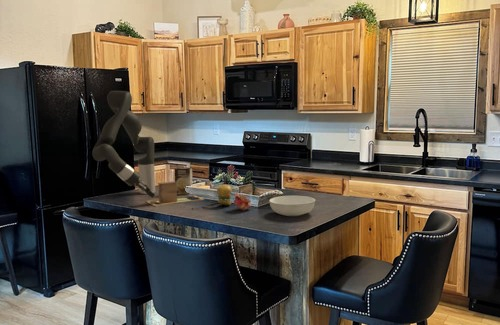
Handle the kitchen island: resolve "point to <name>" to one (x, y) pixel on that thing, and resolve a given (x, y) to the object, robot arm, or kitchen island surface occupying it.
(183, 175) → the coffee box
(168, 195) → the block
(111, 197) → the kitchen island surface
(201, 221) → the kitchen island surface
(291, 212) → the serving bowl
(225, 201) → the hamburger
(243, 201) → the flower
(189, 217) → the kitchen island surface
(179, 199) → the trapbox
